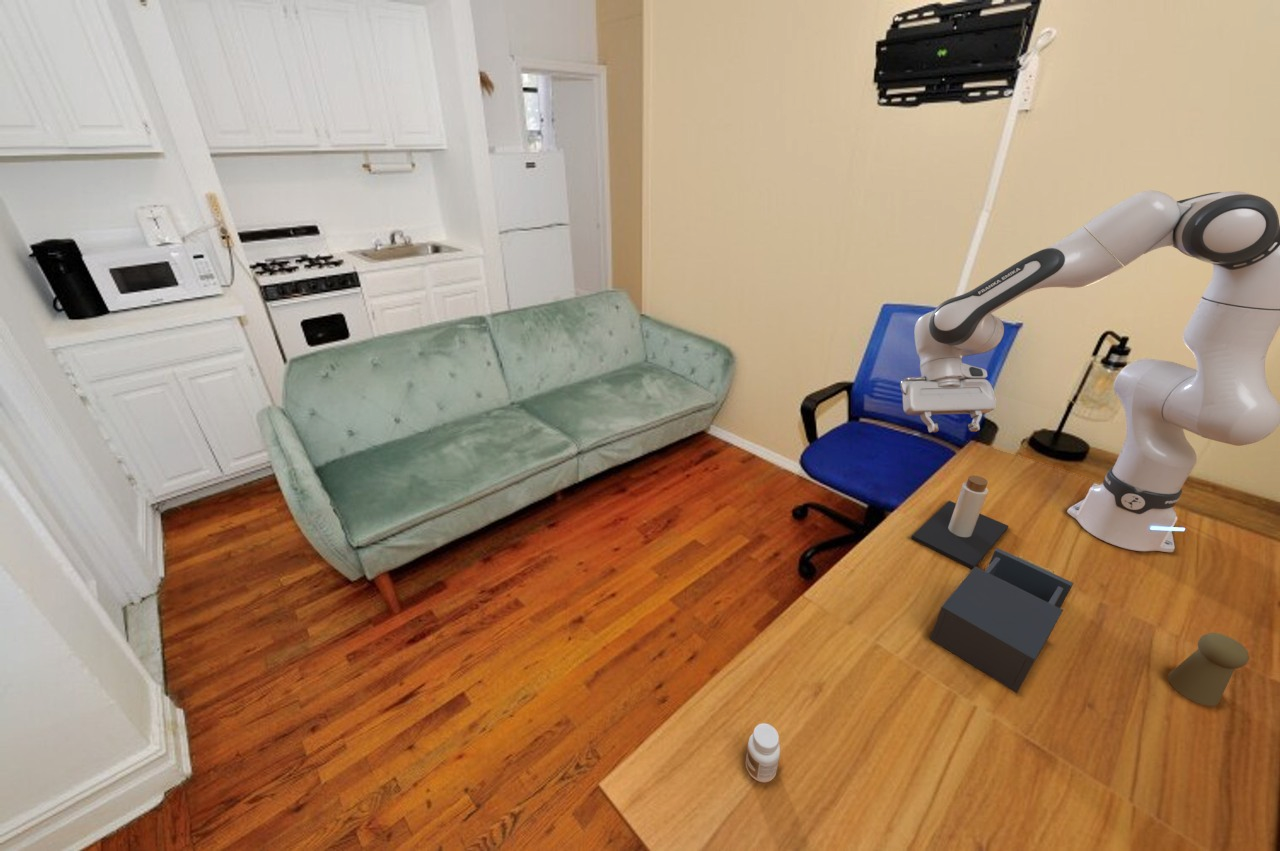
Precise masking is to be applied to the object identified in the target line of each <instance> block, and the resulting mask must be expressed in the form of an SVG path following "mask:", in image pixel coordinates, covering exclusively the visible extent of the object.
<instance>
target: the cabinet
mask: <svg viewBox="0 0 1280 851" xmlns="http://www.w3.org/2000/svg"><path fill="white" fill-rule="evenodd" d="M1063 611H1064V609H1063V608H1058V607H1056V606H1054V605H1052V604H1050V603H1048V602H1046V601H1044V600H1042V599H1040V598H1038V597H1036V596H1034V595H1032V594H1030V593H1028V592H1026V591H1024V590H1022V589H1020V588H1018V587H1016V586H1014V585H1012V584H1010V583H1008V582H1006V581H1004V580H1002V579H1000V578H998V577H996V576H994V575H992V574H990V573H988V572H986V571H985V570H983V569H982V568H980V567H978V566H976V567H974V568H973V569H971V570H970V571H969V573H968V574H967V575H966V576H965V577H964V579H963V580H962V581H961V582H960V584H958V586H957V587H956V588H955V590H954V591H953V592H952V593H951V594H950V596H949V597H948V598H947V599H946V600H945V602H944V603H942V605H941V606H940V609H939V612H938V615H937V618H936V621H935V623H934V627H933V628H932V631H931V634H930V636H929V640H931V641H933V642H934V643H936V644H937V645H939V646H940V647H941V648H944V649H945V650H947V651H948V652H950V653H952V654H953V655H955V656H957V657H958V658H960V659H961V660H963V661H964V662H966V663H968V664H969V665H971V666H973V667H974V668H976V669H977V670H979V671H981V672H982V673H984V674H985V675H986V676H987V675H988V676H989V677H990V678H992V679H994V680H995V681H997V682H998V683H1000V684H1002V685H1003V686H1005V687H1006V688H1008V689H1010V690H1012V691H1013V692H1015V693H1016V694H1018V692H1019V690H1020V689H1021V687H1022V685H1023V684H1024V682H1025V680H1026V678H1027V677H1028V675H1029V673H1030V671H1031V670H1032V668H1033V666H1034V665H1035V663H1036V661H1037V659H1038V657H1039V656H1040V653H1041V652H1042V651H1043V648H1044V647H1045V645H1046V643H1047V641H1048V639H1049V638H1050V636H1051V634H1052V633H1053V630H1054V628H1055V626H1056V624H1057V623H1058V621H1059V619H1060V618H1061V615H1062V613H1063Z"/></svg>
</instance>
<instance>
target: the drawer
mask: <svg viewBox="0 0 1280 851" xmlns="http://www.w3.org/2000/svg"><path fill="white" fill-rule="evenodd" d="M984 571H986V572H988V573H990V574H992V575H994V576H996V577H998V578H1000V579H1002V580H1004V581H1006V582H1008V583H1010V584H1012V585H1014V586H1016V587H1018V588H1020V589H1022V590H1024V591H1026V592H1028V593H1030V594H1032V595H1034V596H1036V597H1038V598H1040V599H1042V600H1044V601H1046V602H1048V603H1050V604H1052V605H1054V606H1056V607H1058V608H1060V609H1062V606H1063V605H1064V602H1065V601H1066V599H1067V597H1068V594H1069V593H1070V591H1071V589H1072V587H1073V585H1074V582H1072V581H1071V580H1069V579H1066V578H1064V577H1061V576H1059V575H1057V574H1055V571H1054V570H1052V569H1049V568H1047V567H1045V566H1044V565H1040V564H1038V563H1036V562H1034V561H1032V560H1029V559H1028V558H1025V557H1024V556H1021V555H1018V556H1016V555H1014V554H1012V553H1009V552H1008V551H1005V550H1003V549H1001V548H998V547H996V548H995V549H994V551H993V554H992V555H991V558H990V561H989V564H988V566H987V567H986V568H985V570H984Z"/></svg>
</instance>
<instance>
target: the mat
mask: <svg viewBox="0 0 1280 851" xmlns="http://www.w3.org/2000/svg"><path fill="white" fill-rule="evenodd" d="M956 503H957V502H954V501H951V500H947V502H946V503H945V504H944V505H943V506H942V507H941V508H939V509H938V510H937V511H936V512H935V513H934V514H933V515H932V516H931V517H930V518H929V519H928V520H927V521H926V522H925V523H923V525H921V526H920V527H919V528H918V530H916V531H915V532H914V533H913V534H912V535H911V538H910V539H911V540H913V541H915V542H917V543H919V544H921V545H923V546H925V547H927V548H928V549H931V550H932V551H935V552H936V553H938V554H940V555H942V556H945V557H946V558H949V559H950V560H953V561H955V562H956V563H958V564H961V565H962V566H964V567H966V568H969V569H971V570H972V569H973V568H974V567H978V565H979V564H980V563H981V561H982V560H983V559H984V558H985V556H986V555H987V554H988V553H989V552H990V551H991V549H992V548H993V547H994V545H996V544H997V542H998V541H999V540H1000V539H1001V538H1002V536H1003V535H1004V534H1005V533H1006V531H1007V530H1008V529H1009V525H1008V524H1005V523H1003V522H1001V521H998V520H996V519H993V518H991V517H989V516H987V515H984V514H982V513H980V515H979V517H978V520H977V523H976V525H975V528H974V531H973V533H972V535H971V536H970V537H960V536H957V535H955V534H953V533H952V532H951V531H950V530H949V529H948V526H949V523H950V520H951V517H952V514H953V511H954V508H955V505H956Z"/></svg>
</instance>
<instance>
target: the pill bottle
mask: <svg viewBox="0 0 1280 851" xmlns="http://www.w3.org/2000/svg"><path fill="white" fill-rule="evenodd" d="M752 732H753V733H752V734H751V735H750V736H749V739H748V742H747V749H746V757H745V768H746V770H747V772H748V774H749V776H750V777H751V778H753V779H754V780H755V781H757V782H759V783H768V782H771V781H772V780H773V779H774V778H775V777H776V775H777V772H778V766H779V761H780V756H781V746H780V736H779V733H778V731H777V729H776V728H775V727H774V726H772V725H771V724H769V723H764V722H763V723H759V724H757V725H755V727H754V729H753V731H752Z"/></svg>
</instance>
